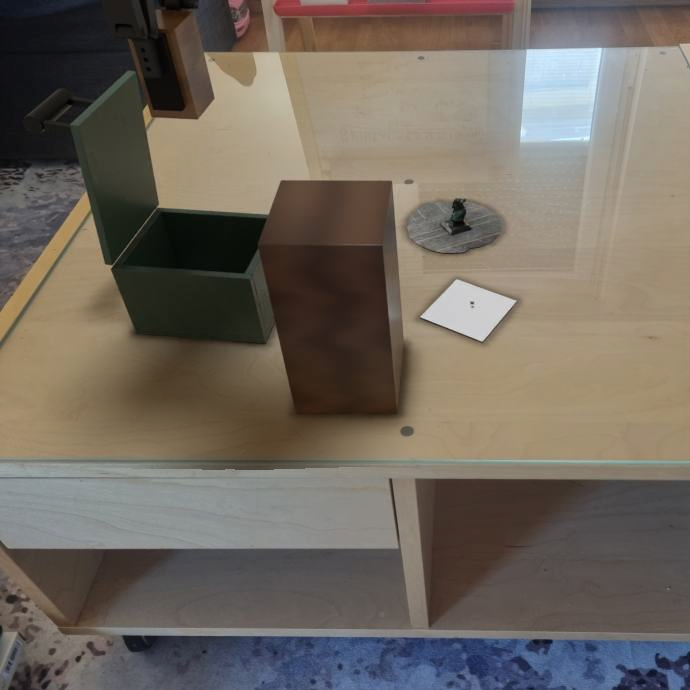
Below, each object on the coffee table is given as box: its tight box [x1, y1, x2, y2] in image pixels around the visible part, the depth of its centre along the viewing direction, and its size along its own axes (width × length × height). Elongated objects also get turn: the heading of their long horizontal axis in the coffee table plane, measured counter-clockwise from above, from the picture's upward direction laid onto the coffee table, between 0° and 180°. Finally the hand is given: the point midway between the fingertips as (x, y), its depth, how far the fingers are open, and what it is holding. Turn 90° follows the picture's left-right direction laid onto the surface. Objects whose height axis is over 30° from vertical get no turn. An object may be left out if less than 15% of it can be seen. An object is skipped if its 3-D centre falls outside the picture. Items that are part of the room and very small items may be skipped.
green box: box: [110, 207, 275, 344], centre depth 82 cm, size 15×12×9 cm
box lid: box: [22, 70, 160, 266], centre depth 74 cm, size 15×12×7 cm
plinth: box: [258, 179, 405, 415], centre depth 70 cm, size 10×10×20 cm
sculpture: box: [406, 197, 502, 254], centre depth 97 cm, size 12×9×8 cm
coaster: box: [420, 278, 517, 343], centre depth 84 cm, size 8×8×1 cm
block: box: [127, 9, 216, 121], centre depth 66 cm, size 4×4×8 cm
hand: (180, 95), depth 68 cm, fingers closed on block, 4 cm apart
